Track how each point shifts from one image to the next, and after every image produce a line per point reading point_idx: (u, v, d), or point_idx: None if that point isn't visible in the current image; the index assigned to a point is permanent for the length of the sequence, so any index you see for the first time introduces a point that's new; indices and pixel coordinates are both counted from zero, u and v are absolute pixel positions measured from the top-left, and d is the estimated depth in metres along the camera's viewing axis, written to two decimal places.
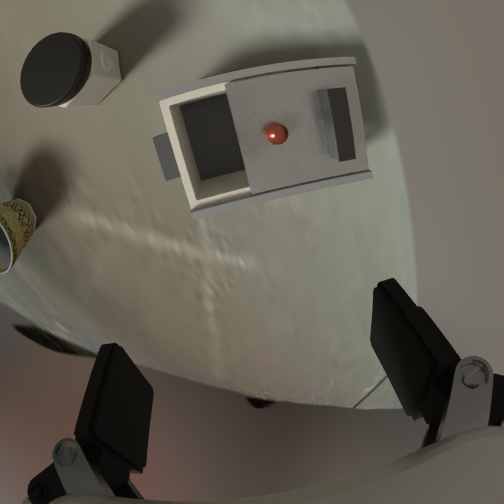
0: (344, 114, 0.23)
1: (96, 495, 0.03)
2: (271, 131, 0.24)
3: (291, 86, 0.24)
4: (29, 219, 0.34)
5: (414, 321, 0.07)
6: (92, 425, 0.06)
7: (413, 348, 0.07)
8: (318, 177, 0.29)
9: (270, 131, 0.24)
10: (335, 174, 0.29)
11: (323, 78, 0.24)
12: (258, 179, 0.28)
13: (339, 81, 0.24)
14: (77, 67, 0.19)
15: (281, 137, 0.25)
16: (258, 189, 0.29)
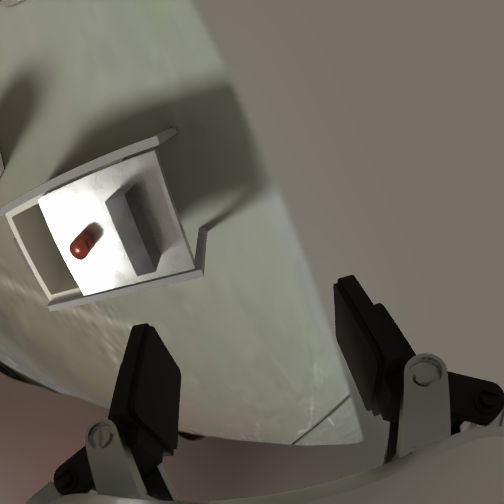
0: (129, 226, 0.21)
1: (96, 495, 0.03)
2: (72, 248, 0.22)
3: (89, 192, 0.22)
4: None
5: (367, 316, 0.08)
6: (130, 403, 0.07)
7: (364, 343, 0.07)
8: (138, 280, 0.27)
9: (71, 248, 0.22)
10: (156, 276, 0.27)
11: (120, 176, 0.22)
12: (85, 283, 0.26)
13: (140, 174, 0.22)
14: None
15: (82, 253, 0.23)
16: (88, 291, 0.27)
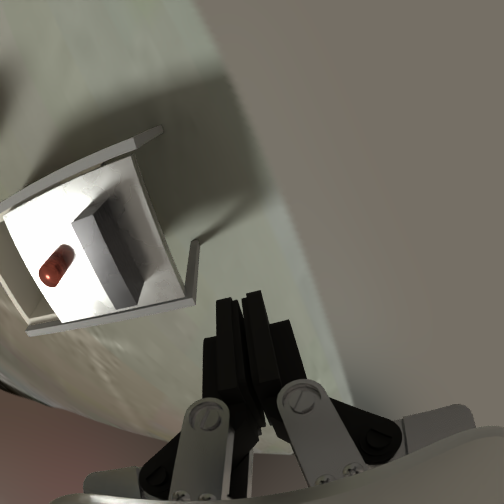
0: (101, 253, 0.16)
1: (96, 495, 0.03)
2: (41, 274, 0.18)
3: (57, 208, 0.17)
4: None
5: (256, 335, 0.08)
6: (238, 376, 0.07)
7: None
8: (120, 309, 0.22)
9: (40, 274, 0.18)
10: (140, 305, 0.22)
11: (91, 188, 0.17)
12: (62, 310, 0.22)
13: (113, 186, 0.17)
14: None
15: (52, 280, 0.18)
16: (66, 318, 0.22)
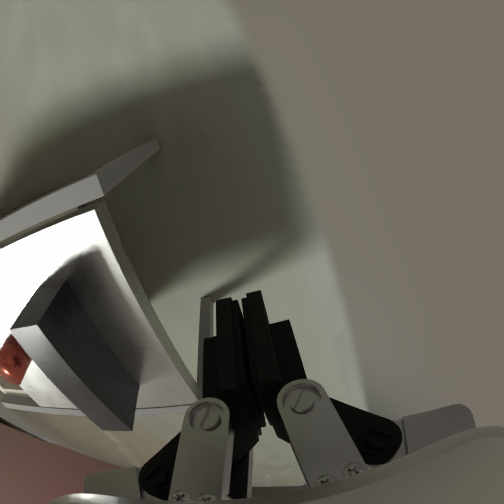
0: (66, 376, 0.09)
1: (96, 495, 0.03)
2: None
3: (0, 283, 0.09)
4: None
5: (256, 334, 0.08)
6: (238, 376, 0.07)
7: None
8: None
9: None
10: (136, 406, 0.14)
11: (39, 260, 0.09)
12: (36, 395, 0.14)
13: (73, 260, 0.09)
14: None
15: (13, 378, 0.10)
16: (43, 404, 0.14)
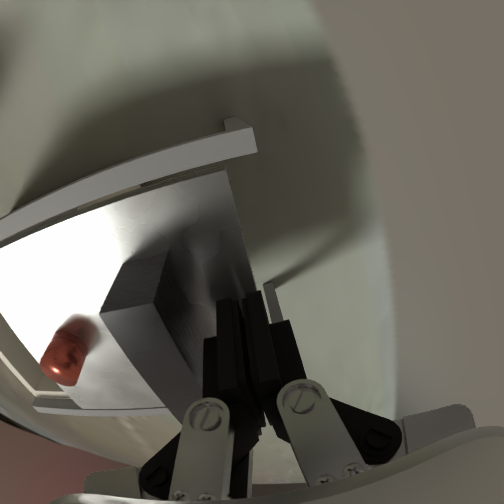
0: (169, 367, 0.08)
1: (96, 495, 0.03)
2: (46, 368, 0.10)
3: (63, 261, 0.09)
4: None
5: (256, 334, 0.08)
6: (238, 376, 0.07)
7: None
8: None
9: (44, 367, 0.10)
10: None
11: (133, 230, 0.09)
12: (81, 397, 0.14)
13: (183, 229, 0.09)
14: None
15: (66, 378, 0.10)
16: (87, 406, 0.14)
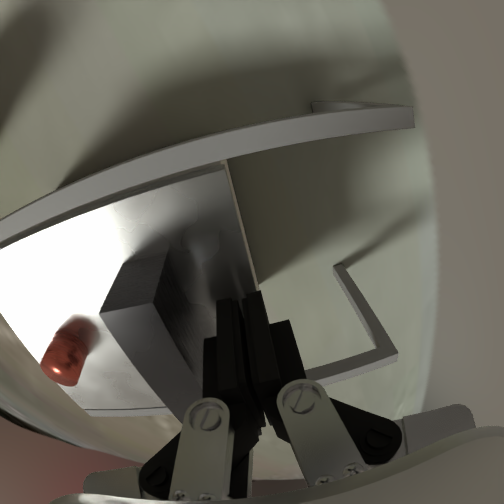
0: (169, 366, 0.08)
1: (96, 495, 0.03)
2: (47, 368, 0.10)
3: (63, 262, 0.09)
4: None
5: (256, 334, 0.08)
6: (238, 376, 0.07)
7: None
8: None
9: (44, 367, 0.10)
10: None
11: (132, 230, 0.09)
12: (81, 397, 0.14)
13: (182, 229, 0.09)
14: None
15: (67, 378, 0.10)
16: (88, 406, 0.14)
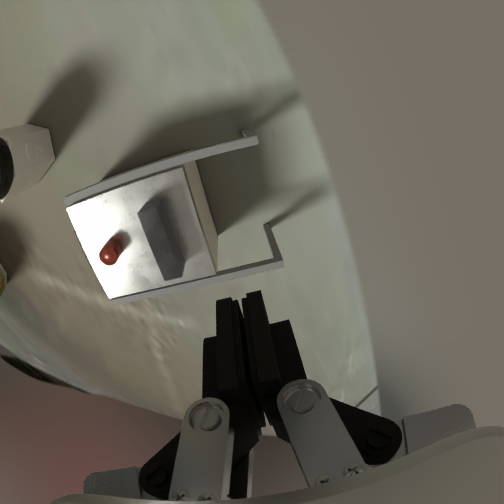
0: (159, 236, 0.24)
1: (96, 495, 0.03)
2: (102, 254, 0.26)
3: (119, 203, 0.25)
4: None
5: (256, 334, 0.08)
6: (238, 376, 0.07)
7: None
8: (163, 285, 0.30)
9: (101, 254, 0.26)
10: (179, 281, 0.30)
11: (150, 189, 0.25)
12: (111, 287, 0.29)
13: (168, 188, 0.25)
14: None
15: (111, 259, 0.26)
16: (113, 295, 0.30)
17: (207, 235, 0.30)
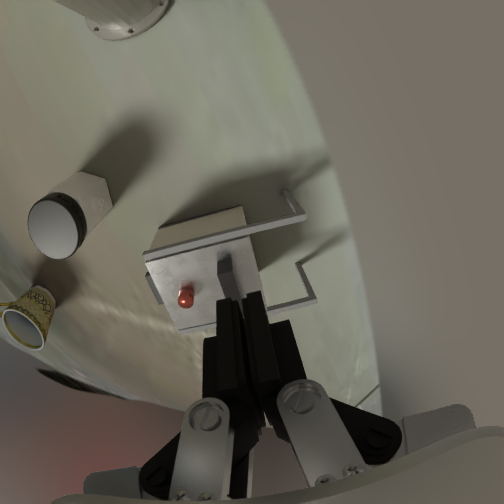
0: (233, 290, 0.34)
1: (96, 495, 0.03)
2: (180, 301, 0.35)
3: (195, 261, 0.34)
4: (50, 305, 0.44)
5: (256, 334, 0.08)
6: (238, 376, 0.07)
7: None
8: None
9: (179, 300, 0.35)
10: None
11: (221, 252, 0.34)
12: (180, 321, 0.39)
13: (236, 252, 0.34)
14: (76, 235, 0.29)
15: (188, 304, 0.35)
16: (181, 326, 0.39)
17: (260, 280, 0.39)
